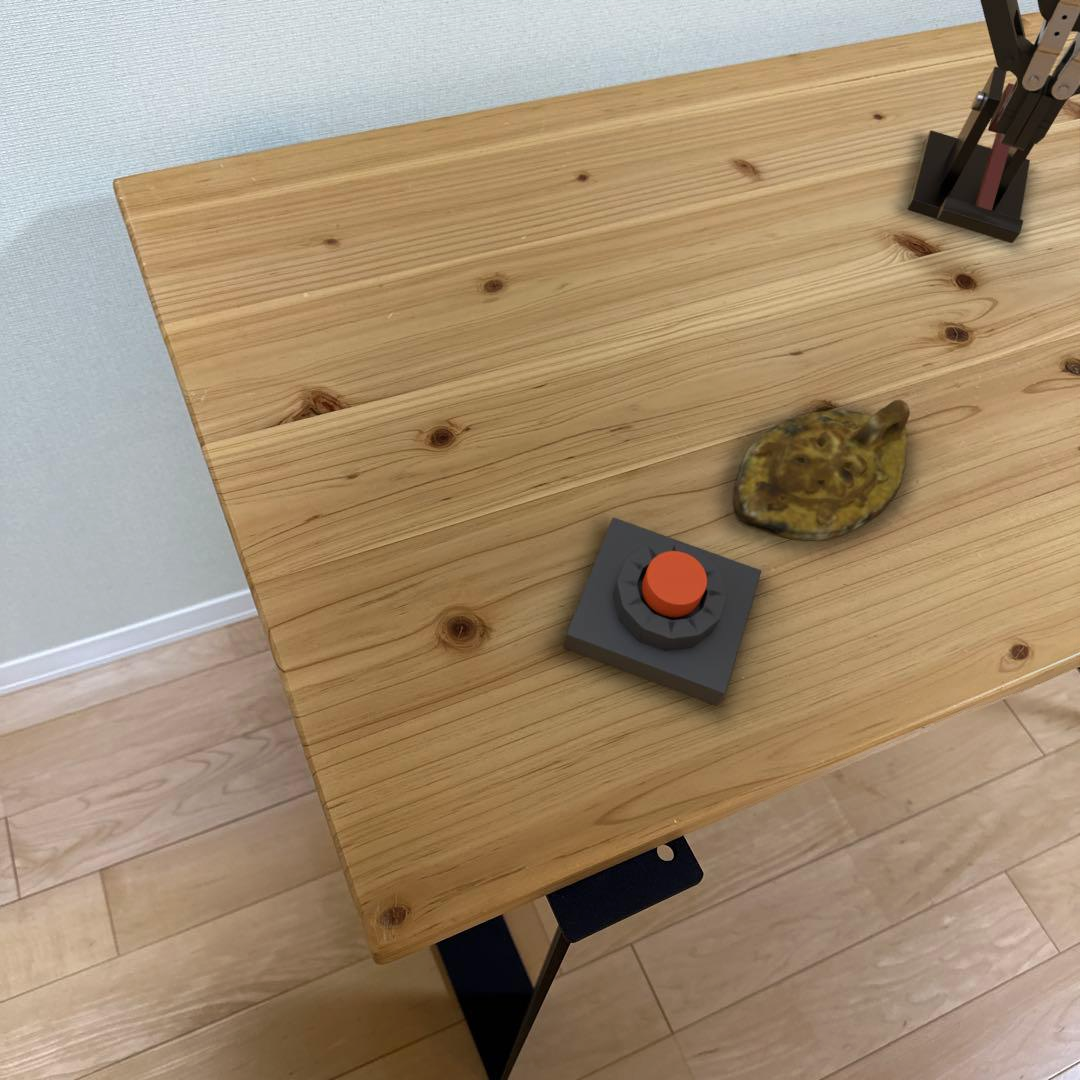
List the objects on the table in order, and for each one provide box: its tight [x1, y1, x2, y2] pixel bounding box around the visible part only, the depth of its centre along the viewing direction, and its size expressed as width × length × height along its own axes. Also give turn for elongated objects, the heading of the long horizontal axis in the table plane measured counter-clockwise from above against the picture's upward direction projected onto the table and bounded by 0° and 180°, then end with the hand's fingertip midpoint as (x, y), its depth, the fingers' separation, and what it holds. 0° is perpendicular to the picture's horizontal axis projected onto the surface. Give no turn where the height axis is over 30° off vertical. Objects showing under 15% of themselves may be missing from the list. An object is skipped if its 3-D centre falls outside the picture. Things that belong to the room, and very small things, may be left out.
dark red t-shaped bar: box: [936, 82, 1024, 244], centre depth 77 cm, size 13×6×2 cm, turn 160°
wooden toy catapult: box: [907, 66, 1035, 220], centre depth 81 cm, size 10×9×10 cm
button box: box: [562, 517, 762, 707], centre depth 60 cm, size 10×9×4 cm
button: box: [642, 551, 707, 617], centre depth 58 cm, size 4×4×2 cm
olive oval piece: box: [733, 398, 911, 541], centre depth 67 cm, size 9×5×15 cm
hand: (1013, 139), depth 59 cm, fingers closed
